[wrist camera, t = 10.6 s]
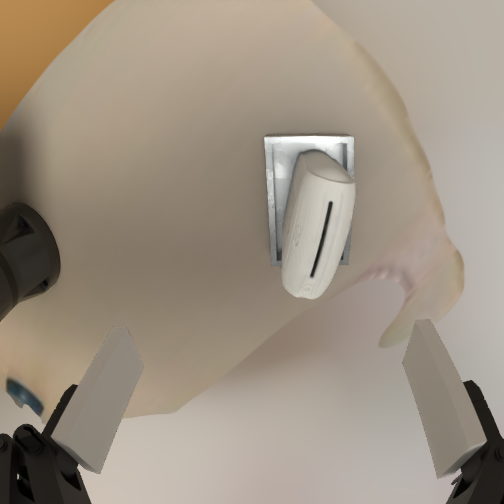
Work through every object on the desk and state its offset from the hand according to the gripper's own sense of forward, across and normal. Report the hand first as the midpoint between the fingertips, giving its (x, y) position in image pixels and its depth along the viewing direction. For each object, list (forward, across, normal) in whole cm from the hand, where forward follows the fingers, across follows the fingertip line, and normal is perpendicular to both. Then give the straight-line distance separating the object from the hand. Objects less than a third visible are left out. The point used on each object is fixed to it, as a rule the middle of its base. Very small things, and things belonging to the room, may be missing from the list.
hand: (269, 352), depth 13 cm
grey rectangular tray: (+22, -4, 0) cm, 22 cm away
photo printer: (+21, -4, 0) cm, 21 cm away
